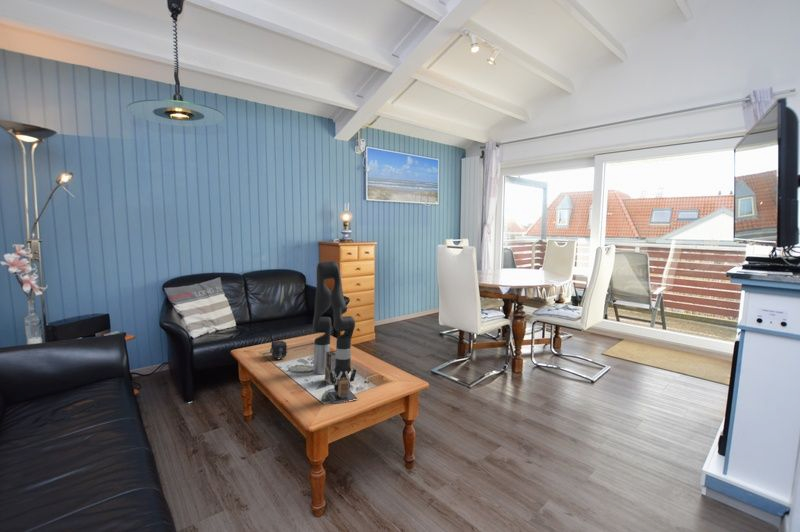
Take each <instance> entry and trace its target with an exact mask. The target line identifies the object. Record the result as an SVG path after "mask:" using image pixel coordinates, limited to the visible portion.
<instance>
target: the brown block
mask: <svg viewBox="0 0 800 532" xmlns="http://www.w3.org/2000/svg"><path fill="white" fill-rule="evenodd" d="M349 390H350V389H349V380H348V379H347V377H342V378H340V380H338V392H336V391H335V390H334V392H336V393H337V395H338V396H339V397H340V396H347V395H349Z"/></svg>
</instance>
